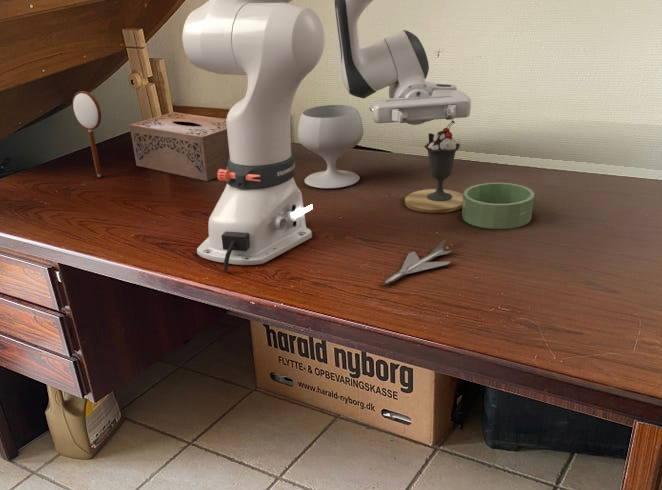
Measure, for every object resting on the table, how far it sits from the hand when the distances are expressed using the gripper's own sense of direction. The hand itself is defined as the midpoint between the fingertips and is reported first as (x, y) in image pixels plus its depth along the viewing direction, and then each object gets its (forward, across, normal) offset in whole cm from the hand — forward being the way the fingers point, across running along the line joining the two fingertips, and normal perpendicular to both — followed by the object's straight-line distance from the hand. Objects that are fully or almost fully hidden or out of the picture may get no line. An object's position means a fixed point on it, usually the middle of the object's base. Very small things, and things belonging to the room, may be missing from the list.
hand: (427, 117), depth 146 cm
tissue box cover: (-26, -52, +14) cm, 60 cm away
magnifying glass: (-22, -74, +14) cm, 79 cm away
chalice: (-6, -19, +14) cm, 25 cm away
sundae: (+11, +1, +13) cm, 17 cm away
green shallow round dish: (+22, +10, +14) cm, 28 cm away
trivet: (+12, 0, +14) cm, 18 cm away
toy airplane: (+41, -8, +14) cm, 44 cm away
